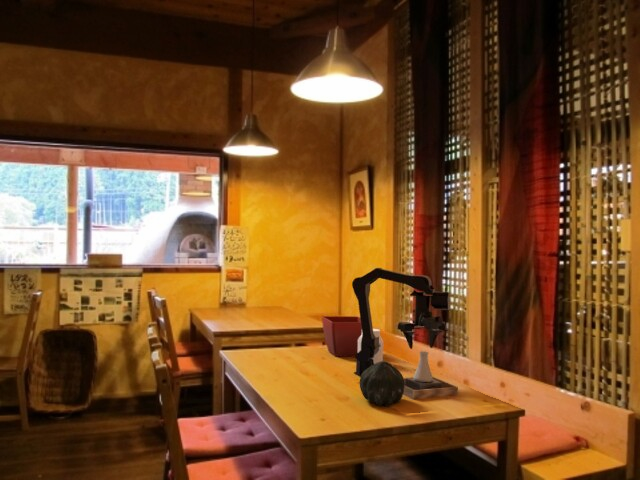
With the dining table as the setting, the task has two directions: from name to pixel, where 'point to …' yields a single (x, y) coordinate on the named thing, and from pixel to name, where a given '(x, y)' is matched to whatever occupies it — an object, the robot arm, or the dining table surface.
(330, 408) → the dining table surface
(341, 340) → the plant pot
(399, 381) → the squash
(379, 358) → the jar
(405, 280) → the robot arm
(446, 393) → the brown tray
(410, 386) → the block
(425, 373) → the flask
